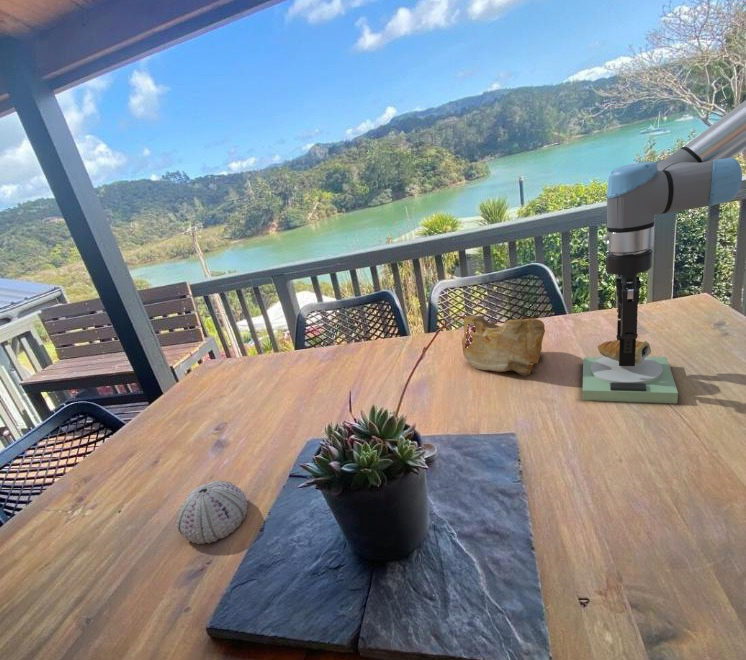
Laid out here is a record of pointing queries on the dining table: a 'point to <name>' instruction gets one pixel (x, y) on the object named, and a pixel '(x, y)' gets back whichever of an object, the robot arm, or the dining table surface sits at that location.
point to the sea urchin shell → (211, 512)
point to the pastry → (612, 350)
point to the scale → (628, 381)
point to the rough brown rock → (504, 344)
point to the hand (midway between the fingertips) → (625, 356)
